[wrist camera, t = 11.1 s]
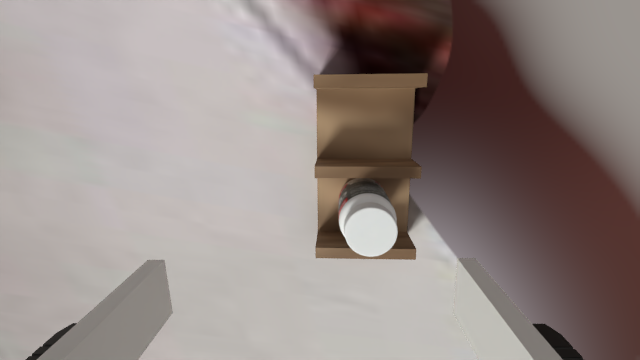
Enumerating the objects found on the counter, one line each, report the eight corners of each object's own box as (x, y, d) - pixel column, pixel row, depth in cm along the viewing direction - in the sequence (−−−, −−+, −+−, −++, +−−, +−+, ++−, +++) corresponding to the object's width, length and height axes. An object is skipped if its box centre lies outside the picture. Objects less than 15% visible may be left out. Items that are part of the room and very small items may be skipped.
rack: (317, 78, 31) (313, 74, 27) (413, 77, 31) (427, 73, 26) (318, 236, 35) (315, 257, 30) (404, 237, 35) (415, 259, 30)
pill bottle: (335, 179, 33) (334, 205, 24) (383, 173, 32) (399, 198, 24) (341, 224, 34) (342, 264, 26) (388, 219, 33) (404, 258, 25)
